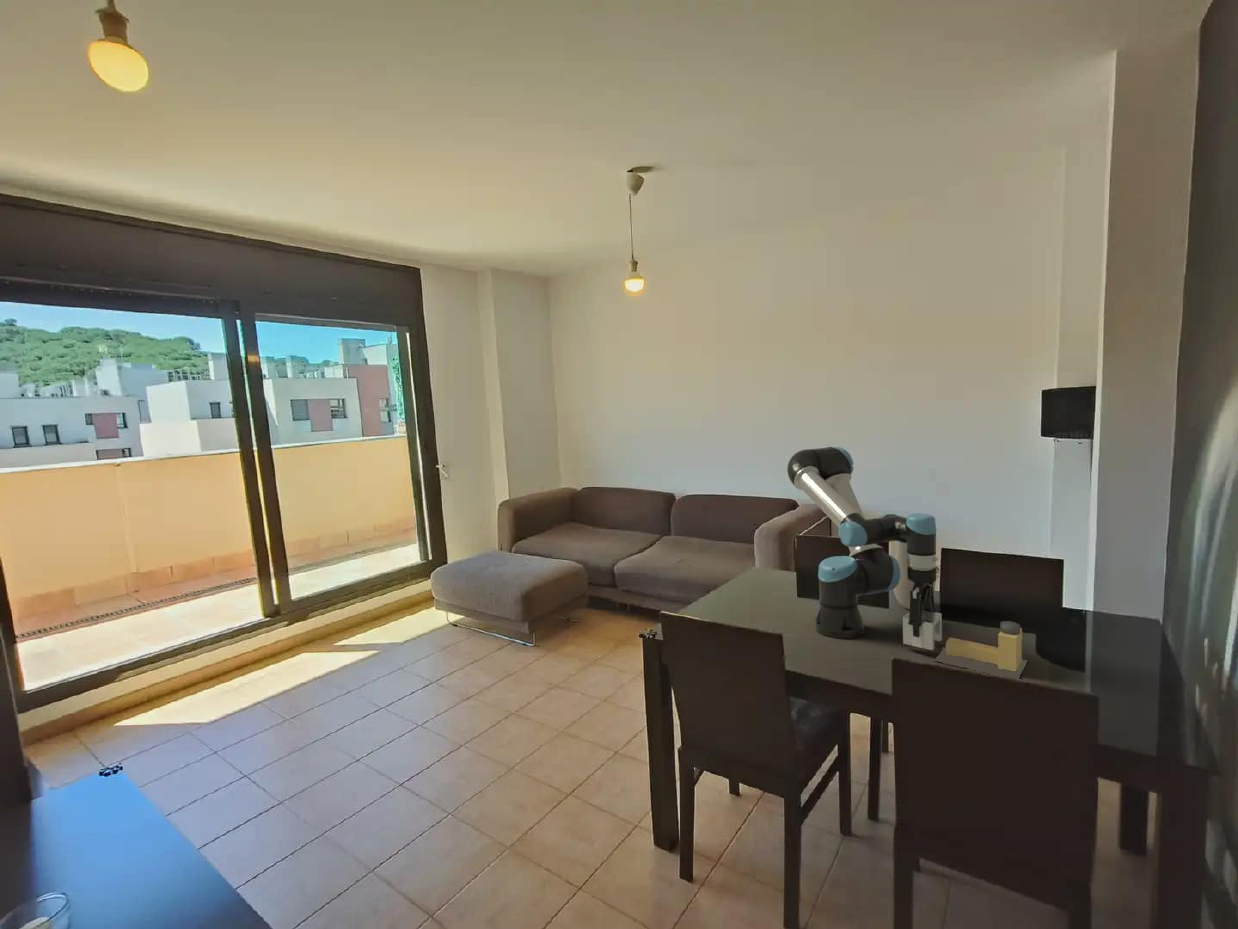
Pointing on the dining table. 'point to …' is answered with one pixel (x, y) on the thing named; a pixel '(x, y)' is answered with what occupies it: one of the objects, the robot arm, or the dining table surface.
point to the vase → (904, 577)
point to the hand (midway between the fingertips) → (922, 640)
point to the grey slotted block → (925, 629)
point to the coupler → (993, 648)
